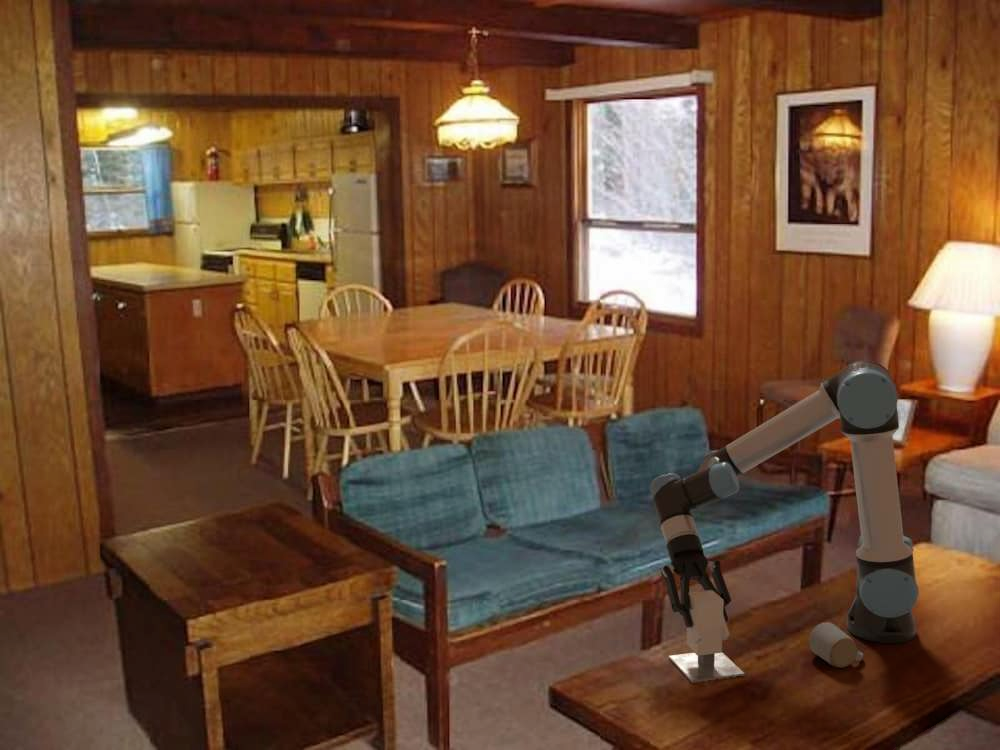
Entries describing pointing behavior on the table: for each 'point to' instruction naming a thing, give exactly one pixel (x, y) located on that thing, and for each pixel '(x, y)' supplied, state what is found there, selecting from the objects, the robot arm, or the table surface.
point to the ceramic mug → (833, 645)
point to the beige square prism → (706, 622)
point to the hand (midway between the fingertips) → (712, 639)
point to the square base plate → (705, 666)
